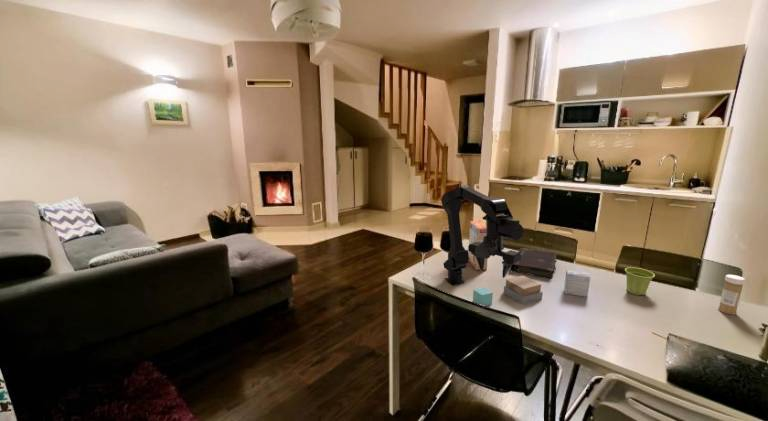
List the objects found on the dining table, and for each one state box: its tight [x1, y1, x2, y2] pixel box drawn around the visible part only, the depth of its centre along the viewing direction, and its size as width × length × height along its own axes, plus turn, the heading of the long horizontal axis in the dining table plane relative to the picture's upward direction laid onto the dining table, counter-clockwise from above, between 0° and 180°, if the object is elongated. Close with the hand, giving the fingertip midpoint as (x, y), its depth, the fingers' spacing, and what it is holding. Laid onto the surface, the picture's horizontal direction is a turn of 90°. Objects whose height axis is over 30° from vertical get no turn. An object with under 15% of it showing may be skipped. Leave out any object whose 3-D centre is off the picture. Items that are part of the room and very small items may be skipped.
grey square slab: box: [503, 285, 544, 305], centre depth 127 cm, size 10×10×4 cm
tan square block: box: [505, 274, 542, 296], centre depth 126 cm, size 9×9×3 cm
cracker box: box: [468, 220, 488, 271], centre depth 156 cm, size 14×6×21 cm, turn 179°
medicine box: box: [563, 269, 591, 298], centre depth 127 cm, size 8×4×9 cm, turn 65°
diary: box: [509, 247, 558, 280], centre depth 155 cm, size 19×25×5 cm
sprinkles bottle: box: [717, 274, 746, 316], centre depth 112 cm, size 5×5×13 cm
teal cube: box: [472, 286, 494, 307], centre depth 122 cm, size 5×5×5 cm
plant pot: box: [624, 267, 656, 296], centre depth 127 cm, size 9×9×9 cm
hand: (492, 273), depth 119 cm, fingers open, 9 cm apart
